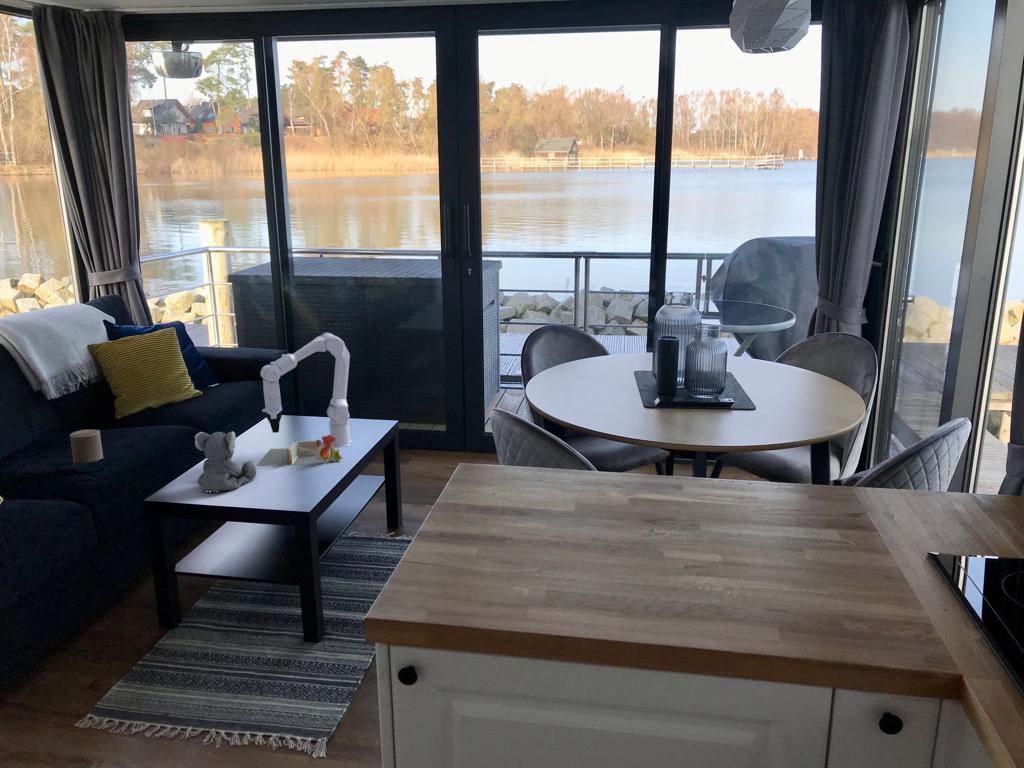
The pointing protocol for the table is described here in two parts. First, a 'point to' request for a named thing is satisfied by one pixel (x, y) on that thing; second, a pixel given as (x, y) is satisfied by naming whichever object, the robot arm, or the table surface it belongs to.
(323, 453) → the bird rattle
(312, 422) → the table surface
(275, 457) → the board
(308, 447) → the fence fixed section
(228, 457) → the koala plush
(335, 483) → the table surface
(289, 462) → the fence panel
